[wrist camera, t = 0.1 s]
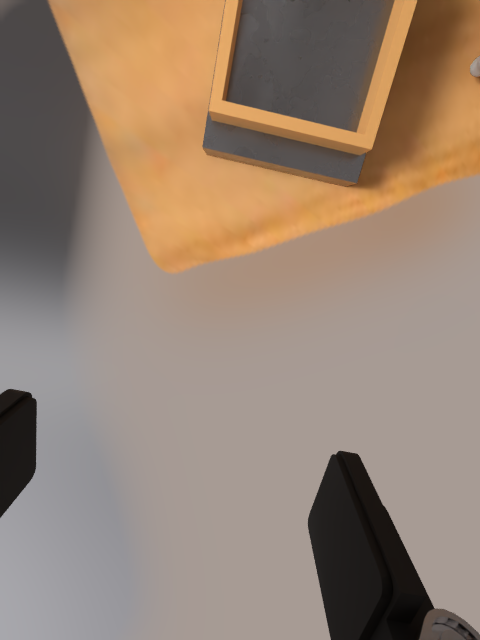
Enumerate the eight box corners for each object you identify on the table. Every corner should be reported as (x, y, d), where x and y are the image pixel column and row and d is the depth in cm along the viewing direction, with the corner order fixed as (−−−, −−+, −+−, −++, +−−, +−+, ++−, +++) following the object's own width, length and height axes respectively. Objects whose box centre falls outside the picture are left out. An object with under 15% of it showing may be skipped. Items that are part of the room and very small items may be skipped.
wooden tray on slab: (245, -83, 29) (245, -171, 22) (410, -38, 30) (458, -110, 23) (207, 154, 35) (198, 140, 29) (345, 186, 36) (367, 180, 29)
